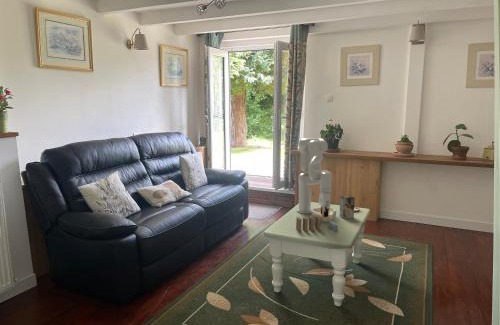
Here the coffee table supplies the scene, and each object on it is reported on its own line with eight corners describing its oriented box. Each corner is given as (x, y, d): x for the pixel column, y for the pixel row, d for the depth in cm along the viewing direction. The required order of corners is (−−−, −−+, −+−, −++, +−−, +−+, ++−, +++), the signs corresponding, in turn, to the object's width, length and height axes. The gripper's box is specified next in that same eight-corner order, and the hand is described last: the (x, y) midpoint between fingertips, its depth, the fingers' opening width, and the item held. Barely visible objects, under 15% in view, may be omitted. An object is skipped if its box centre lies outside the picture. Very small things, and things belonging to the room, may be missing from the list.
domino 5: (321, 217, 249) (322, 205, 248) (324, 217, 250) (324, 205, 248) (324, 220, 244) (324, 207, 243) (327, 219, 244) (327, 207, 243)
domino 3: (308, 228, 250) (309, 216, 248) (311, 228, 250) (311, 216, 248) (311, 231, 244) (311, 218, 243) (313, 231, 245) (314, 218, 243)
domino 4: (314, 228, 250) (315, 216, 249) (317, 228, 251) (318, 215, 249) (317, 231, 245) (317, 218, 243) (320, 231, 245) (320, 218, 244)
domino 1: (296, 229, 248) (296, 216, 247) (298, 229, 249) (299, 216, 247) (298, 232, 243) (298, 219, 242) (301, 231, 243) (301, 219, 242)
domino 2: (302, 229, 249) (302, 216, 248) (305, 228, 249) (305, 216, 248) (304, 231, 244) (305, 219, 242) (307, 231, 244) (308, 219, 242)
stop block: (329, 227, 253) (329, 221, 252) (333, 226, 254) (333, 221, 253) (333, 231, 245) (333, 225, 245) (337, 230, 246) (337, 225, 245)
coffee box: (350, 215, 280) (351, 195, 277) (353, 218, 274) (355, 197, 271) (339, 216, 278) (340, 196, 275) (342, 218, 272) (343, 198, 269)
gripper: (316, 187, 252) (315, 212, 254) (324, 193, 235) (323, 219, 238) (326, 186, 253) (325, 211, 255) (335, 192, 236) (334, 219, 239)
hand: (324, 215), depth 246 cm, fingers closed on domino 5, 5 cm apart
